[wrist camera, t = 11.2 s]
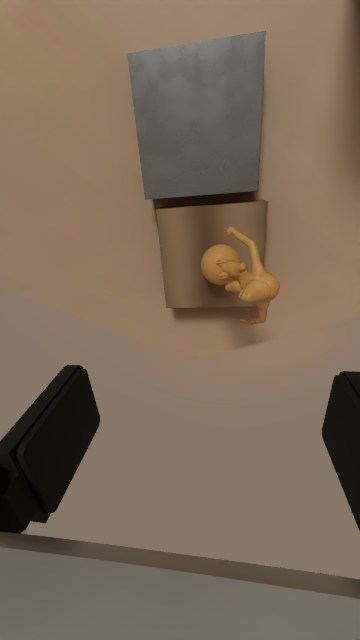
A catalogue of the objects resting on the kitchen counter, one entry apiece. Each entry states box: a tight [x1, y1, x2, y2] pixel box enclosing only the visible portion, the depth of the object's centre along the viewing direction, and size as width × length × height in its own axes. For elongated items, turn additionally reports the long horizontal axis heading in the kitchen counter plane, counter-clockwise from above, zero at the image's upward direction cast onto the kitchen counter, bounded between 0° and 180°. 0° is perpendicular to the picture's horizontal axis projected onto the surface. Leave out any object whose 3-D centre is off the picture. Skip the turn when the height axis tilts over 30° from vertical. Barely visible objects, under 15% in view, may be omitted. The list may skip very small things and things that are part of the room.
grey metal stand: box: [128, 31, 266, 200], centre depth 25 cm, size 11×11×3 cm
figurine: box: [201, 226, 280, 324], centre depth 23 cm, size 8×6×12 cm
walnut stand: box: [156, 200, 268, 308], centre depth 30 cm, size 11×11×3 cm
